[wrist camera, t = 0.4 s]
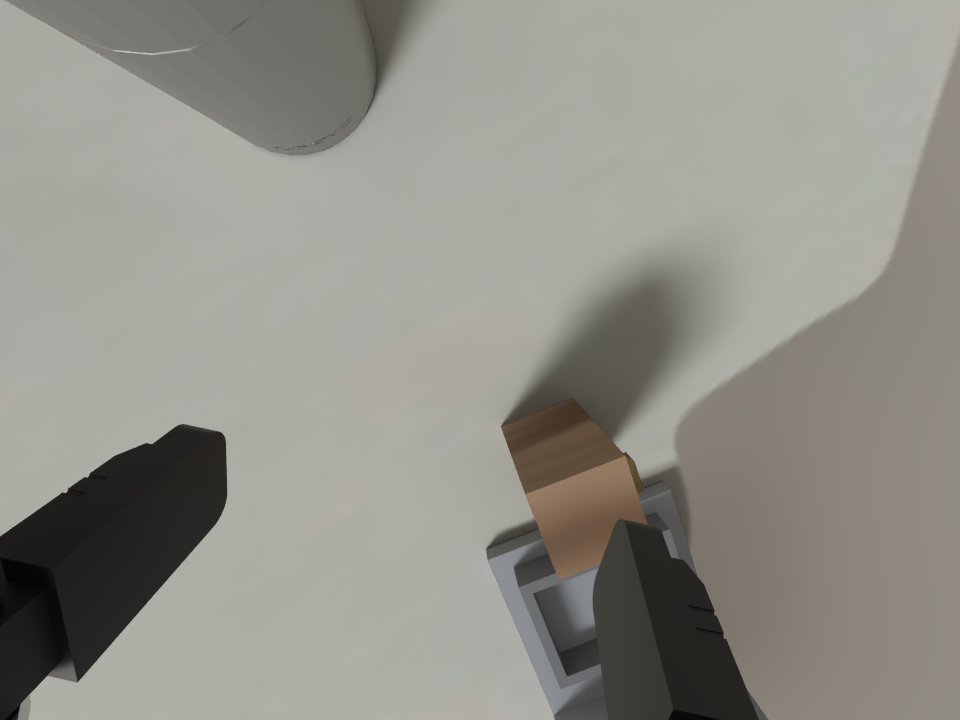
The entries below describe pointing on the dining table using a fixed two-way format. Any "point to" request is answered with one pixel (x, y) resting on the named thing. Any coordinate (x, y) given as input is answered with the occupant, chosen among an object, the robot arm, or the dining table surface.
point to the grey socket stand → (571, 611)
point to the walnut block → (573, 483)
